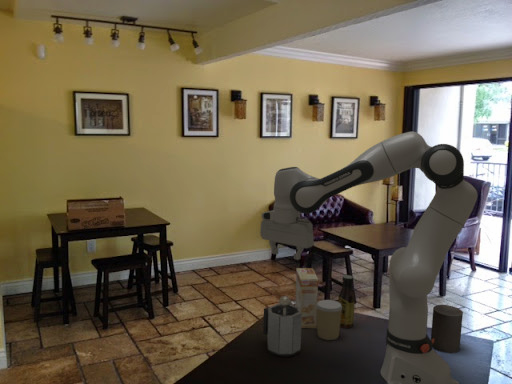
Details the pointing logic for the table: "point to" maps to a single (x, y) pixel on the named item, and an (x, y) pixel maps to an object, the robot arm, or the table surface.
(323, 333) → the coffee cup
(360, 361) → the table surface
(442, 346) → the pillar candle
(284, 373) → the table surface
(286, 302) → the plunger
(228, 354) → the table surface
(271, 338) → the press pot
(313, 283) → the coffeecake box
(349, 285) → the sauce bottle
